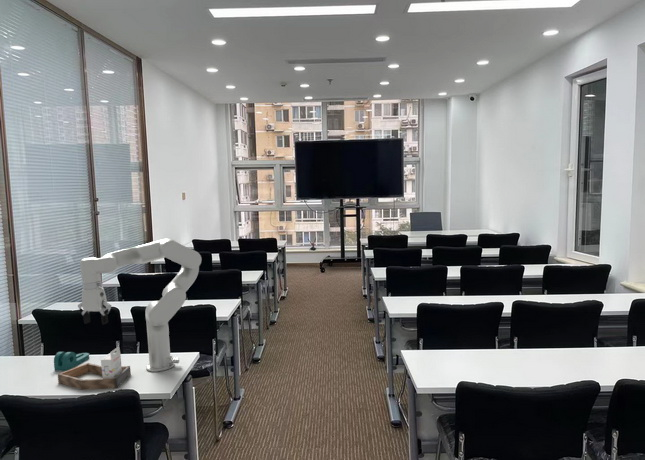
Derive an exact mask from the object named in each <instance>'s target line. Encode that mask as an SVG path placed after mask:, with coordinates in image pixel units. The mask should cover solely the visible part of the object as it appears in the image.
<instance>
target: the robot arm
mask: <svg viewBox="0 0 645 460" xmlns="http://www.w3.org/2000/svg"><path fill="white" fill-rule="evenodd" d="M165 258H166V259H168V260H171V262H174V263H177V264H178V265H181V267H180V269H179V271H178V273H177V274H176V275H175V277H174V278H173V279H172V280H171V281H170V282H169V283H168V284H167V285H166V286H165V288H163V290H162V293H161V295H162V297H160V299H159V300H154V301H151V302H149V303H148V304H147V306H146V307H145V321H146V324H145V325H146V333H147V334H146V335H147V346H148V347H147V348H148V361H149V363H148V364H147V365H146V366H145V367H146V370H147V371H148V372H152V373H154V372H155V373H157V372H163V371H167V370H170V369H171V368H173V367H174V366H175V364H179V363H180V358H179V357H173V354H171V347H170V345H171V344H170V336H169V335H170V331H169V330H170V329H169V322H170V320H171V319H172V318H173V317H174V316H175V315H176V313H177V312H178V311H179V310H180V309H181V308H182V306H183V305H184V303H185V302H186V299H187V293H186V292H188V290H189V288H190V287H191V286H192V285H193V284H194V283H195V281H196V279H197V277H198V275H199V271H200V266H201V264H202V255H201V254H200V253H199V252H198V251H196V250H194V249H192V248H189V247H188V246H185V245H184V244H181V243H180V242H178V241H176V240H174V239H171V238H163V239H159V240H156V241H151V242H148V243H145V244H141V245H137V246H133V247H129V248H125V249H120V250H116V251H113V252H109V253H106V254H104V255H102V256H101V257H99V258H98V257H85V258H82V259H81V260H80V261H79V267H80V276H81V284H82V289H81V302H80V303H79V304H77V308H78V309H79V312H80V313H81V315H82V317H83V323H84V324H85V325H86V324H89V323H91V314H90V312H99V313H100V314H101V315H100V316H101V317H100V318H101V319H100V320H101V324H102V325H106V324H108V323H109V316H108V315H109V313H110V312H111V309H112V305H111V303H108V300H107V295H106V292H105V291H106V290H105V289H104V287H103V283H102V279H101V278H102V276H101V274H112V273H114V272H116V271H117V269H118V268H121V267H124V266H128V265H133V264H134V265H135V264H136V265H142V264H147V263H150V262H154V261H157V260H161V259H165Z"/></svg>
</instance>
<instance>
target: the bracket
mask: <svg viewBox="0 0 645 460" xmlns="http://www.w3.org/2000/svg"><path fill="white" fill-rule="evenodd" d="M89 359H90V353H89V352H81V353H76V352H74V351H67V352H66V351H58V352H56V354H55V355H54V358H53V366H54V371H62V372H65V371H68V370H70V369H73V368H76V367H78V366H79V365H80V364H82V363H84V362H85V361H88V360H89Z"/></svg>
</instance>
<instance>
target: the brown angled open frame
mask: <svg viewBox="0 0 645 460" xmlns="http://www.w3.org/2000/svg"><path fill="white" fill-rule="evenodd" d="M121 366H122V372H121V373H120V374H119V375H118V376H117V377H116V378H108V379H103V378H88V379H82V378H78V377H79V376H82V375H84V374H87V373H90V374H94V375H98V376H102V367H101V365H99V364H95V363H94V364H93V363H90V362H87V363H84V364H81V365H77V366H75V367H73V368H71V369H69V370H68V371H62V372H59V373H57V382H58V384H61V385H64V386H67V387H72V388H75V389H79V390H81V391H84V390H105V389H118V388H119V387H120V386H121V385H122V384H123V383H124V382H125V381H127V379H128V378H129V377H130V376H131V373H132V372H131V365H124V366H123V365H121Z"/></svg>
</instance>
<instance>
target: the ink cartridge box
mask: <svg viewBox="0 0 645 460" xmlns="http://www.w3.org/2000/svg"><path fill="white" fill-rule="evenodd" d="M100 363H101V365H100V366H101V367H102V379H108V378H116V377H117V376H118V375H119V374H120V373H121V372H122V366H123V365H122V355H121V349H120V346H116V348H114V349H113V350H112V351H110V353H108V354H106V355H105V356H104V357H103V358H101V359H100Z"/></svg>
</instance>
